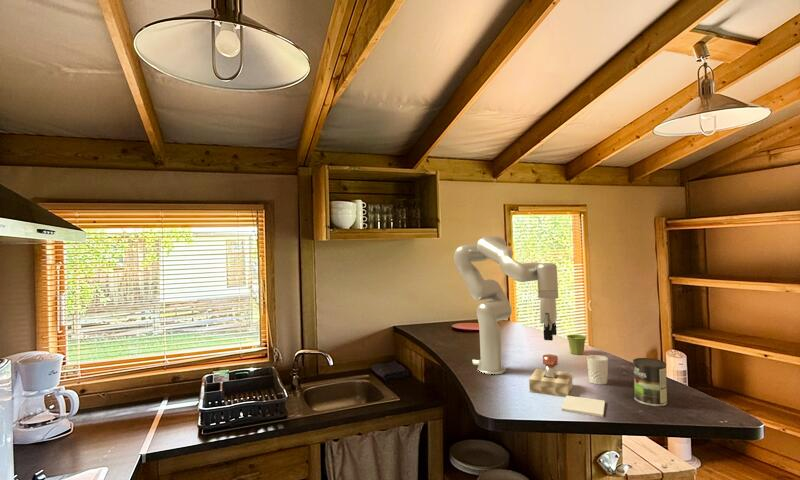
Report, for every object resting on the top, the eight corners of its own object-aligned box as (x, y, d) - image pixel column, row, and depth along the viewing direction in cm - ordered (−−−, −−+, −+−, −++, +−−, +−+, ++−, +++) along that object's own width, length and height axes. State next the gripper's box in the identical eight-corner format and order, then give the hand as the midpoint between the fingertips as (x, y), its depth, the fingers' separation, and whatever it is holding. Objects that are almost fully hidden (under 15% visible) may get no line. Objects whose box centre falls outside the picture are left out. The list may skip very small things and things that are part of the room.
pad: (561, 410, 144) (561, 408, 144) (566, 397, 156) (566, 395, 156) (603, 417, 138) (603, 414, 138) (604, 402, 150) (604, 400, 150)
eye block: (529, 391, 163) (529, 379, 163) (536, 380, 175) (536, 368, 175) (567, 397, 156) (567, 383, 156) (572, 385, 168) (571, 372, 168)
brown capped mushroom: (542, 389, 164) (541, 357, 164) (545, 385, 169) (544, 353, 169) (557, 391, 162) (556, 359, 162) (559, 387, 167) (558, 355, 167)
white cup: (611, 385, 166) (610, 360, 166) (590, 384, 168) (589, 360, 168) (605, 379, 174) (604, 355, 174) (585, 378, 176) (584, 354, 176)
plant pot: (567, 355, 210) (566, 338, 210) (567, 350, 219) (566, 334, 219) (587, 356, 207) (586, 339, 207) (586, 351, 215) (586, 334, 215)
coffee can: (646, 407, 145) (645, 366, 145) (628, 396, 155) (626, 358, 155) (674, 405, 145) (673, 365, 145) (654, 394, 156) (652, 356, 156)
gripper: (542, 291, 175) (544, 332, 175) (534, 297, 160) (536, 341, 159) (561, 291, 171) (563, 333, 171) (554, 297, 156) (557, 343, 156)
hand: (550, 337), depth 165 cm, fingers open, 9 cm apart
